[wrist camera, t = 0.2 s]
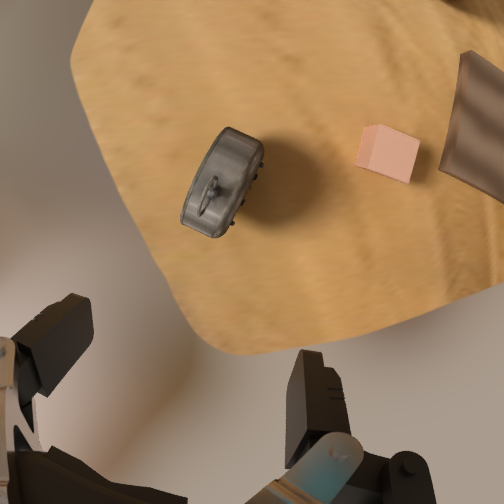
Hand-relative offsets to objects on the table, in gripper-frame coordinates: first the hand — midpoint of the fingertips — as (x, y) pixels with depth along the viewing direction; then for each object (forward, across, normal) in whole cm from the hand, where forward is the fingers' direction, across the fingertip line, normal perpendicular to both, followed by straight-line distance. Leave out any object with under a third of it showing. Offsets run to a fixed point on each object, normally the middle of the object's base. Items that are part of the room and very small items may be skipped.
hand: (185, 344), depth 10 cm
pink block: (+29, -14, -9) cm, 33 cm away
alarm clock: (+29, +3, -2) cm, 29 cm away
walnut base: (+28, -32, -18) cm, 47 cm away
